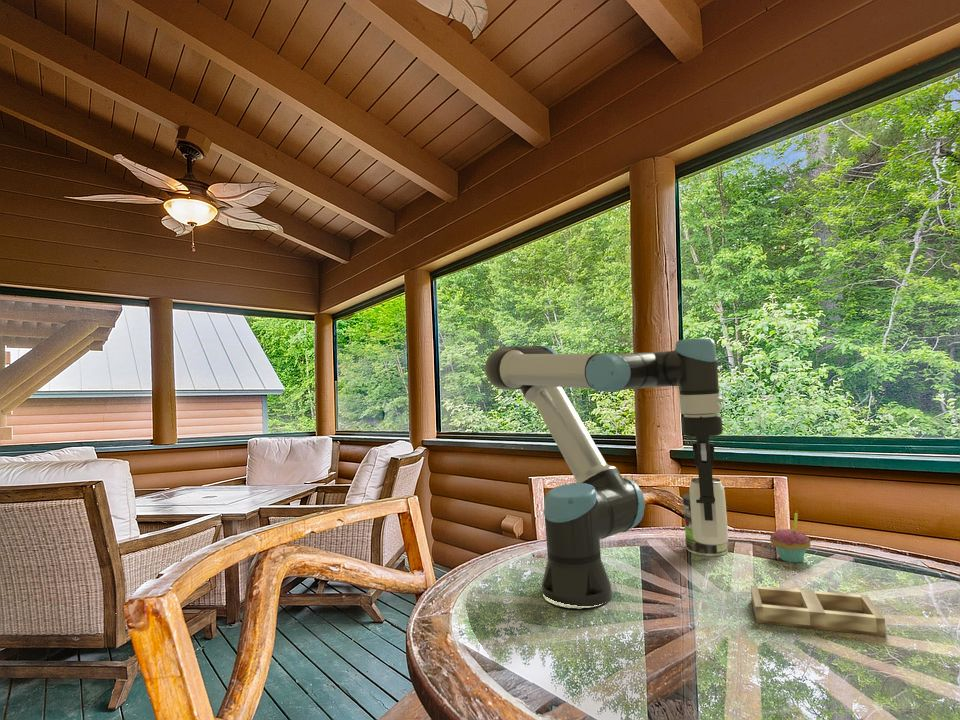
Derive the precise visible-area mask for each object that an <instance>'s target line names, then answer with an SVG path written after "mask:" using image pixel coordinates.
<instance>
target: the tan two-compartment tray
mask: <svg viewBox="0 0 960 720" xmlns="http://www.w3.org/2000/svg"><path fill="white" fill-rule="evenodd" d="M749 586H750V600H751V604H752V608H753V612H754V616H755V617H754V618H755V622H756V623H758V624H769V625H776V626H777V625H778V626H787V627H797V628H805V629H813V630H814V629H815V630H823V631H832V632H833V631H834V632H842V633H852V634H862V635H870V636H879V637H887V632H886V619H885V617H884V616H883V615H882V613H881V612H880V610H879V609H878V608H877V606H876V605H875V604H874V603H873V601H872V600H871V598H870V597H869V595H867V594H854V593H845V592H844V593H843V592H831V591H820V590H819V591H818V590H810V589H809V590H808V589H798V588H797V589H796V588H783V587H772V586H761V585H759V586H758V585H749Z"/></svg>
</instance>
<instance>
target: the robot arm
mask: <svg viewBox="0 0 960 720" xmlns="http://www.w3.org/2000/svg"><path fill="white" fill-rule="evenodd" d="M718 361H719V360H718V355H717V349H716V343H715V341H714V340H713V339H712V338H709V337H697V338H688V339H687V338H686V339H679V340H677V341H676V342H675V348H674V350H673V349H672V350H670V351H669V350H667V351H666V350H665V351H653V352H649V351H648V352H629V353H624V352H623V353H614V352H612V353H611V352H609V353H608V352H607V353H558V352H557V351H556V350H555V349H554V348H552V347H549V346H545V345H537V344H536V345H535V344H534V345H531V346H529V345H528V346H524V345H523V346H519V345H517V346H516V345H515V346H501V347H499V348H497V349H494V351H492V352H491V353H490V354H489V356H488V357H487V359H486V361H485V365H484V371H485V372H484V373H485V375H486V379H487V381H489V383H490V384H491V385H492V386H494V387H496V388H498V389H500V390H506V391H508V390H509V391H510V390H520V391H521V393H522V394H523V396H524V399H525V400H526V401H527V402H531V403H533V404H534V405H535V407H536V409H537V411H538V412H539V414H540V416H541V418H542V420H543V423H544V424H545V426H546V427H547V429H548V431H549V433H550V435H551V437H552V439H553V440H554V441H555V444H556V446H557V447H558V450H559V452H560V453H561V455H562V456H563V458H564V460H565V462H566V464H567V466H568V468H569V469H570V471H571V473H572V475H573V477H574V479H575V480H576V481H575V482H572V483H569V484H566V483H565V484H561V485H558V486H556V487H552V488H551V489H550V490H548V491H547V492H546V495H545V496H544V503H543V504H544V509H543V515H544V527H545V528H544V529H545V537H546V538H545V539H546V551H547V553H546V554H547V561H546V562H547V563H546V566H545V569H544V573H543V578H542V583H541V593H542V592H543V594H544V595H545V596H546V597H548V598H550V599H552V600H554V601H557V602H561V603H564V604H570V605H577V606H594V605H599V604H602V603H605V602H607V601H608V602H610V601H611V599H612V597H613V595H612V585H611V581H610V578H609V577H608V574H607V571H606V569H605V566H604V564H603V561H602V556H601V555H602V554H601V542H600V540H603V539H606V538H609V537H612V536H614V535H615V536H616V535H618V534H620V533H625V532H629V530H631V529H632V528H635V527H636V526H638V525H639V524H640V523H641V521H642V520H643V517H644V514H645V509H646V501H645V497H644V494H643V492H642V490H641V488H640V486H639V485H638V484H637V483H636V482H635V481H633V480H630V479H628V478H626V477H625V478H624V477H623V476H622V475H621V473H620V471H619V470H618V468H617V467H616V466H614V465H610V464H608V463H607V462H606V459H605V458H604V456H603V455H602V453H601V451H600V449H599V448H598V446H597V445H596V443H595V441H594V439H593V438H592V436H591V434H590V433H589V431H588V429H587V428H586V425H585V423H583V421H582V419H581V416H579V414H578V412H577V411H576V408H575V407H574V404H572V402H571V400H570V398H569V396H568V395H567V393H566V391H565V390H564V388H572V389H573V388H574V389H589V390H595V391H597V392H604V393H614V392H619V391H626V390H637V389H646V388H659V387H660V388H661V387H664V388H665V387H678V392H679V394H678V399H679V409H680V411H679V412H680V415H681V414H682V415H683V416H682V417H681V419H680V420H681V433H682V435H684V436H687V437H696V438H695V439H696V441H695V442H693V443H692V453H693V455H694V465H695V467H696V468H697V472H698V474H697V475H698V478H699V488H700V497H699V499H700V500H697V499H696V503H700V510H701V524H702V536H703V537H718V534H717V521H716V508H715V498H714V490H713V478H714V477H713V468H714V467H715V460H714V457H715V456H714V454H715V445H714V443H713V442H710V438H709V437H716V436H721V435H722V434H723V432H724V431H723V420H722V417H721V415H719V414H720V413H721V411H722V409H721V403H723V402H724V397H720V387H719V370H718ZM704 495H710V496H704ZM608 602H607V603H608Z"/></svg>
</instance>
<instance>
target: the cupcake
mask: <svg viewBox="0 0 960 720" xmlns="http://www.w3.org/2000/svg"><path fill="white" fill-rule="evenodd" d="M798 517H799V515H798V510H796V512H795V513H794V517H793V527H792V528H788V529H786V528H785V529H782V528H781V529H778V530H776V531H774V532H772V533H771V535H770V538H769V541H770V543H771V544H772V545H773V546H775V548H776V551H777V553H778V555H779V557H780V559H781V560H782V561H785V562H789V563H802V562H803V561H804V557H805V554H806V551H807V549H809V548H811V538H809V537H808V536H807V535H806V534H805V533H803V532H801V531H799V530H797V527H798V526H797V525H798Z"/></svg>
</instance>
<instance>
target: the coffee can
mask: <svg viewBox="0 0 960 720" xmlns="http://www.w3.org/2000/svg"><path fill="white" fill-rule="evenodd" d="M681 497H682V502H683V503H682V505H683V518H684V530H685V531H684V532H685V549H687V550H688V551H689V552H688V551H687V550H686V551H687V552H688V553H690V552H691V554H693V553H694V554H693V555H696V554H697V556H700V555H701V557H720V556H724V555H727V554H728V551H729V550H728V542H727V543H725V544H723V545H704V544H700V543H698V542H696V541H695V540H694V539H693V531H692V518H691V505H690V492H687V493H684V494H683V495H682V496H681Z"/></svg>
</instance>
